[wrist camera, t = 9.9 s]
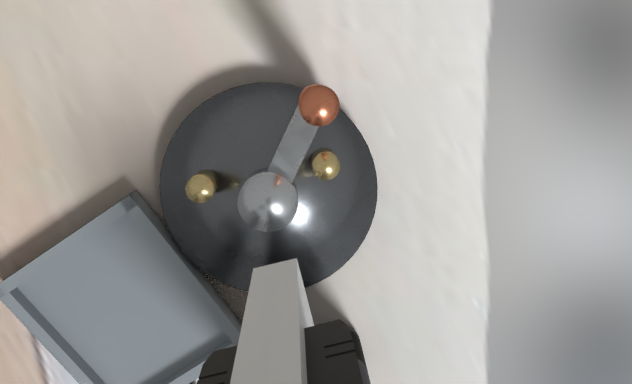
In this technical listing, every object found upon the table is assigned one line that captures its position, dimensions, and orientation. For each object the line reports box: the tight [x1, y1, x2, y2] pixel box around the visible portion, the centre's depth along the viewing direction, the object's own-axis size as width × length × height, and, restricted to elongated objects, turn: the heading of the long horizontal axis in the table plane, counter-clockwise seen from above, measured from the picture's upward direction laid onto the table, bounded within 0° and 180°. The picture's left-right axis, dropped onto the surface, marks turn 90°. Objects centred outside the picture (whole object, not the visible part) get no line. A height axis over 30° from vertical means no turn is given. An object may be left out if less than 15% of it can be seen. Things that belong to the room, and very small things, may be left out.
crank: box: [237, 84, 339, 232], centre depth 31 cm, size 11×4×7 cm, turn 154°
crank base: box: [160, 83, 377, 291], centre depth 35 cm, size 17×17×4 cm
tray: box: [0, 190, 242, 384], centre depth 38 cm, size 14×16×2 cm
